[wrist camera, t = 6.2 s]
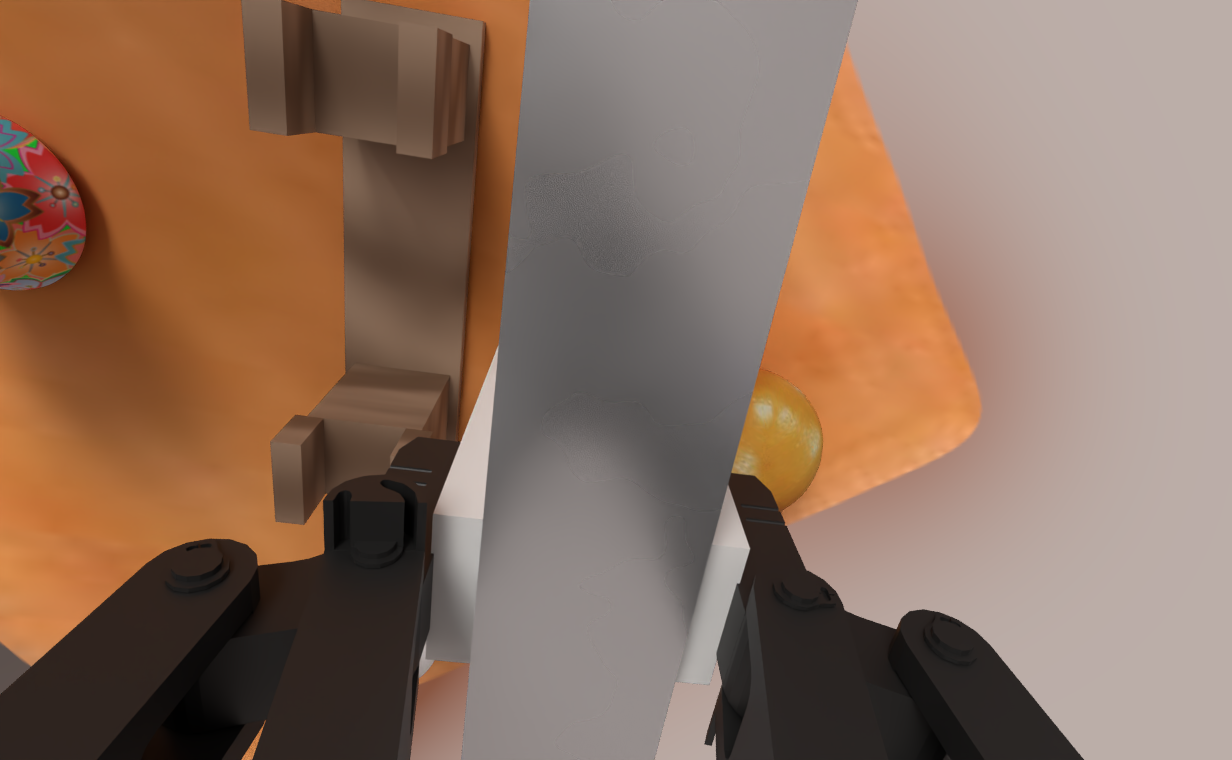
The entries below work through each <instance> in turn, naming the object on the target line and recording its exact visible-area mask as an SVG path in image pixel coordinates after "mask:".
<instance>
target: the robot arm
mask: <svg viewBox="0 0 1232 760" xmlns="http://www.w3.org/2000/svg"><path fill="white" fill-rule="evenodd" d="M498 348H499V345H498ZM498 348H497V350H496V353H495V355H494V358H493V360H492V363H491V366H490V368H489V371H488V373H487V376H486V379H485V381H484V384H483V386H482V389H481V391H480V394H479V397H478V399H477V402H476V404H475V407H474V409H473V412H472V415H471V417H470V420H469V422H468V425H467V428H466V430H465V433H464V435H463V438H462V440H461V442H458V441H450V440H442V439H434V438H425V437H417V438H415V439H414V440H412V441H411V442H409V443H407V444H406V445H404V446H403V447H401V448H400V449H399V450H398V452H397V454H396V456H395V457H394V459H393V461H392V463H391V465H390V468H388V470H387V472H386V474H385V475H384V474H383V475H368V476H361V477H358V478H354V479H351V480H347V481H345V482H343V483H341V484H340V485H338V486H336V487H335V488H333V489H331V491H330V492H329V493H328V495H327V496H326V497H325V499H324V500H323V511H324V545H325V551H324V554H322V555H319V556H316V557H313V558H310V559H305V560H299V561H294V562H286V563H277V564H268V565H260V566H258V563H257V555H256V553H255V552H254V551H253V550H252V549H251V548H249V547H248V546H247V545H246V544H243V543H240V542H237V541H234V540H231V539H205V540H200V541H194V542H188V543H185V544H182V545H180V546H177V547H174V548H172V549H169V550H167V551H164V552H163V553H161V554H160V555H158V556H157V557H155V558H154V559H152V560H151V561H149V562H148V563H147V564H145V565H144V566H143V567H142V568H141V569H140V570H139V571H138V572H136V573H135V574H134V575H133V576H132V577H131V578H130V579H129V580H128V581H126V582H125V583H124V584H123V585H122V586H121V587H120V588H119V589H118V590H116V591H115V592H114V593H113V594H112V595H111V596H110V597H109V598H107V599H106V600H105V601H104V602H103V603H102V604H101V605H100V606H99V607H97V608H96V609H95V610H94V611H93V612H92V613H91V614H90V615H88V616H87V617H86V618H85V619H84V620H83V621H82V622H81V623H80V624H78V625H77V626H76V627H75V628H74V629H73V630H72V631H71V632H69V633H68V634H67V635H66V636H65V637H64V638H63V639H62V640H61V641H59V642H58V643H57V644H56V645H55V646H54V647H53V648H52V649H50V650H49V651H48V652H47V653H46V654H45V655H44V656H43V657H42V658H40V659H39V660H38V661H37V662H36V663H35V664H34V665H33V666H32V667H30V669H28V670H27V671H26V672H25V673H24V674H23V675H21V676H20V677H19V678H18V679H17V680H16V681H15V682H14V683H13V684H11V686H9V687H8V688H7V689H6V690H5V691H4V692H2V693H1V694H0V760H241V759H242V758H243V756H244V754H245V753H246V751H247V750H248V748H249V747H250V745H251V743H252V742H253V740H254V739H255V737H256V736H257V734H258V732H259V731H260V729H261V728H262V726H263V724H264V722H265V720H266V722H265V725H264V728H263V730H262V733H261V736H260V739H259V742H258V745H257V748H256V751H255V754H254V757H253V759H252V760H410V755H411V745H412V737H413V728H414V720H415V711H416V702H417V693H418V684H419V663H420V659H421V656H422V652H423V649H424V646H425V643H426V656H425V659H427V660H438V661H449V662H460V663H470V657H471V646H472V635H473V624H474V613H475V602H476V591H477V579H478V568H479V557H480V546H481V535H482V524H483V513H484V502H485V491H486V480H487V469H488V458H489V447H490V436H491V425H492V414H493V403H494V392H495V381H496V370H497V359H498ZM778 510H779V508H778V506H777V503H776V501H775V499H774V497H773V494H772V492H771V491H770V490H769V489H768V488H767V487H766V486H765V485H764V484H763V483H762V482H761V481H760V480H759V479H758V478H757V477H756V476H754V475H745V474H737V473H731V476H730V479H729V483H728V487H727V491H726V494H725V498H724V502H723V505H722V509H721V513H720V517H719V520H718V524H717V528H716V532H715V535H714V539H713V543H712V546H711V550H710V554H709V558H708V561H707V565H706V569H705V573H704V576H703V580H702V584H701V587H700V591H699V595H698V599H697V602H696V606H695V610H694V614H693V617H692V621H691V625H690V628H689V632H688V636H687V640H686V643H685V647H684V651H683V655H682V658H681V662H680V666H679V669H678V673H677V677H676V681H675V682H682V683H693V684H704V685H709V684H710V681H711V678H712V675H713V671H714V668H715V665H716V661H718V665H719V670H720V674H721V679H722V686H721V689H720V692H719V695H718V699H717V702H716V705H715V709H714V712H713V715H712V718H711V721H710V724H709V728H708V731H707V735H706V740H705V744H706V745H712V742H713V740H714V736H715V733H716V760H1084V759H1083V758H1082V757H1081V756H1080V754H1079V753H1078V752H1077V751H1076V750H1075V748H1074V747H1073V746H1072V745H1071V743H1070V742H1069V741H1068V740H1067V739H1066V737H1065V736H1064V735H1063V734H1062V733H1061V731H1060V730H1059V729H1058V727H1057V726H1056V725H1055V724H1054V723H1053V721H1052V720H1051V719H1050V718H1049V716H1048V715H1047V714H1046V713H1045V712H1044V710H1043V709H1042V708H1041V707H1040V706H1039V704H1038V703H1037V702H1036V701H1035V699H1034V698H1033V697H1032V696H1031V695H1030V693H1029V692H1028V691H1027V690H1026V688H1025V687H1024V686H1023V685H1022V683H1021V682H1020V681H1019V680H1018V679H1017V678H1016V676H1015V675H1014V674H1013V672H1012V671H1011V670H1010V669H1009V668H1008V666H1007V665H1006V664H1005V663H1004V661H1003V660H1002V659H1001V658H1000V657H999V655H998V654H997V653H996V652H995V650H994V649H993V648H992V647H991V646H990V644H988V643H987V642H986V641H985V640H984V639H983V638H982V637H981V636H980V635H979V634H978V633H977V632H976V631H974V630H973V629H971V628H970V627H968V626H967V625H965V624H964V623H962V622H960V621H959V620H957V619H955V618H953V617H950V616H947V615H945V614H942V613H940V612H934V611H929V610H916V611H910V612H908V613H907V614H906V615H905V616H903V617H902V619H901V621H900V623H899V625H898V627H897V629H893V628H890V627H888V626H885V625H881V624H879V623H875V622H873V621H870V620H867V619H864V618H861V617H859V616H856V615H854V614H851V613H849V612H847V611H845V610H844V607H843V604H842V602H841V600H840V598H839V596H838V594H837V593H836V591H835V590H834V589H833V588H832V587H831V586H830V585H829V584H828V583H826V581H824V580H823V579H821V578H820V577H818V576H816V575H815V574H813V573H811V572H809V571H807V570H806V569H805V566H804V564H803V562H802V560H801V557H800V555H799V553H798V551H797V548H796V546H795V544H794V542H793V539H792V537H791V535H790V533H789V530H788V528H787V526H785V521H784V519H783V517H782V515H781V512H779V511H778Z"/></svg>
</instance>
